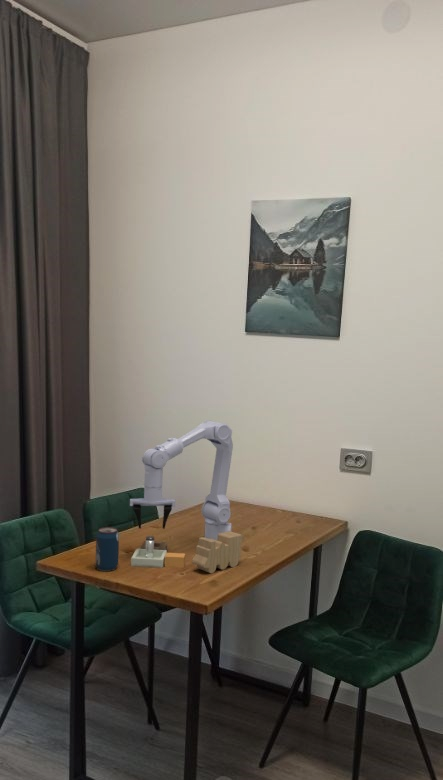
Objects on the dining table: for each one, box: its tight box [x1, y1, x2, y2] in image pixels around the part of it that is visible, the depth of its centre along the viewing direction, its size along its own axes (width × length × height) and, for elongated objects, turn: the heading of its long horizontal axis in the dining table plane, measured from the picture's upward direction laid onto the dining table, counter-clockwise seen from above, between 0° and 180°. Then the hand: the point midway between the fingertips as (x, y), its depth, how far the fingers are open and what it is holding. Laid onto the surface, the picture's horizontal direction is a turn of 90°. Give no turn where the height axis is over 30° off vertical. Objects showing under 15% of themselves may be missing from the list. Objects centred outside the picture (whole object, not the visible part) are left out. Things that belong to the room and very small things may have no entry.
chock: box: [164, 552, 186, 569], centre depth 203 cm, size 6×4×4 cm, turn 88°
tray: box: [130, 548, 168, 569], centre depth 206 cm, size 10×10×2 cm
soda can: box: [94, 526, 120, 572], centre depth 198 cm, size 7×7×12 cm
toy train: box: [191, 530, 245, 575], centre depth 203 cm, size 6×17×10 cm, turn 135°
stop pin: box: [145, 535, 155, 558], centre depth 206 cm, size 3×3×7 cm
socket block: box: [139, 540, 168, 551], centre depth 216 cm, size 8×8×2 cm
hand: (151, 527), depth 208 cm, fingers open, 7 cm apart
